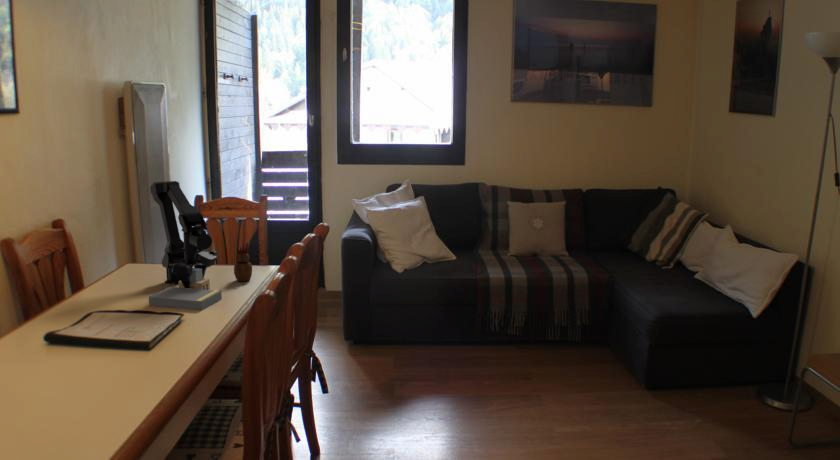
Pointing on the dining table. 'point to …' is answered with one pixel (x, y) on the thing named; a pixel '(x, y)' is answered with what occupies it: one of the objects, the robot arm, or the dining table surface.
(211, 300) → the dock
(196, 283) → the pallet
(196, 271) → the grey cube
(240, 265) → the brown vase with sticks
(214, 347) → the dining table surface
